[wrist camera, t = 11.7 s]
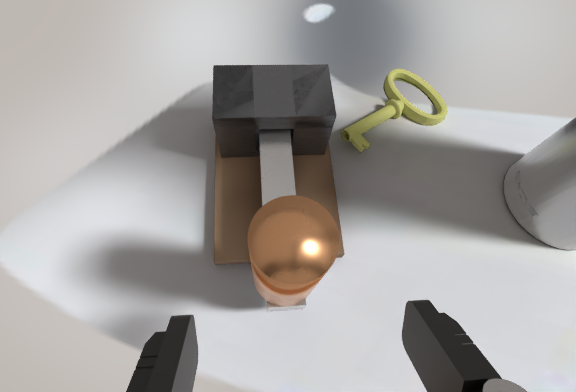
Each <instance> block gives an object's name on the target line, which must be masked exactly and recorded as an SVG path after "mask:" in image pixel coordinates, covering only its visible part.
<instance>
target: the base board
mask: <svg viewBox="0 0 576 392" xmlns="http://www.w3.org/2000/svg"><path fill="white" fill-rule="evenodd" d="M292 157H293V168H294V179H295V190H296V196H303V197H307V198H309V199H312V200H314V201H316V202H318V203H319V204H320V205H322V206H323V207H324V208H325V209H326V210H327V211H328V212H329V213H330V214H331V216H332V217H333V219H334V221H335V223H336V225H337V228H338V232H339V240H340V242H339V250H338V254H337V257H336V258H338V257H342V256H343V255H344V249H343V242H342V235H341V228H340V221H339V214H338V207H337V200H336V193H335V186H334V179H333V172H332V165H331V158H330V151H329V144H328V145H327V148H326V151H325V154H324V155H297V156H292ZM261 207H262V191H261V169H260V157H233V158H221V154H220V150H219V145H218V141H217V136H216V157H215V219H214V263H215V264H216V265H217V264H234V263H251V261H250V255H249V248H248V240H247V239H248V230H249V226H250V223H251V221H252V219H253V217H254V215H255V214H256V212H257V211H258V210H259V209H260V208H261Z"/></svg>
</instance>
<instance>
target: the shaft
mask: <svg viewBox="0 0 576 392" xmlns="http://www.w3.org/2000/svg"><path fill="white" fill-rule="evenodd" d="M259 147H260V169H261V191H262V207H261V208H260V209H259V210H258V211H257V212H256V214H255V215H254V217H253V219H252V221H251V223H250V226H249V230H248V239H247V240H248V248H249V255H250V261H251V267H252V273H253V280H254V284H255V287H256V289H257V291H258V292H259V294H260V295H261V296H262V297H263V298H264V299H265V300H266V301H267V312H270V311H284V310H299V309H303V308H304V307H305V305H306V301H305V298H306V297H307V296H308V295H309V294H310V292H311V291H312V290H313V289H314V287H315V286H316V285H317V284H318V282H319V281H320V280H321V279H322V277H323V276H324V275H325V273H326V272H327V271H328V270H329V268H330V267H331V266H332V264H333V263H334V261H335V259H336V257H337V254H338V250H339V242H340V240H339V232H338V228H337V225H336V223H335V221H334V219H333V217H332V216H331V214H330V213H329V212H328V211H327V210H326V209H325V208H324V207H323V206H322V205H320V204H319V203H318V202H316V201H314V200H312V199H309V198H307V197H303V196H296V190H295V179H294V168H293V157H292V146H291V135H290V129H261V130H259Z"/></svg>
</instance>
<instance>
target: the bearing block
mask: <svg viewBox="0 0 576 392" xmlns="http://www.w3.org/2000/svg"><path fill="white" fill-rule="evenodd" d="M335 118H336V111H335V104H334V98H333V92H332V86H331V80H330V73H329V67H328V65H224V66H223V65H219V66H218V65H216V66H214V68H213V114H212V119H213V123H214V128H215V132H216V136H217V141H218V145H219V150H220V154H221V158H233V157H260V147H259V130H261V129H290V135H291V146H292V156H297V155H324V154H325V151H326V148H327V145H328V141H329V138H330V135H331V131H332V128H333V125H334V122H335Z"/></svg>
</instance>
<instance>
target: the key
mask: <svg viewBox="0 0 576 392" xmlns="http://www.w3.org/2000/svg"><path fill="white" fill-rule="evenodd" d="M393 81H403V82H406V83H408V84H411V85H413V86H414V87H416V88H417V89H419V90H420V91H421V92H423V93H424V94H425V95H426V96H427V97H428V99H429V100H430V101H431V103H432V104H433V105H435V107H436V110H437V115H430V114H427V113H425V112H423V111H421V110H419V109H418V108H416V107H415V106H413V105H412V104H411V103H410V102H409V101H407V100H406V99H405V98H404V97H403V96H402V95H401V94H400V92H399V91H398V90H397V88H396V87H395V85H394V82H393ZM383 89H384V92H385V94H386V96H387V98H388V101H387V102H386V104H385V107H384V108H382V109H380V110H378V111H376V112H374V113H373V114H371V115H369V116H367V117H365V118H363V119H362V120H360V121H358V122H356V123H354V124H353V125H351V126H349V127H347V128H345V129H343V130H342V131H341V135H342V138H343V139H344V140H345V141H346V142H349V141H350V142H351V143H352V144H353V145H354V146H355V147H356V148H357V149H358V150H359V151H360V152H362V151H363V150H364V148H365V149H367V148H369V147H370V145H371V144H370V143H369V142H368V141H367V140H366V139H365V138H364V137H363V136H362V135H361V134H363V133H365V132H366V131H368V130H370V129H372V128H373V127H375V126H377V125H379V124H380V123H382V122H384V121H386V120H387V119H389V118H391V117H392V118H394V119H396V118H399V117H400V116H401V114H402V113H403V114H404V115H405V116H407V117H408V118H409V119H411V120H413V121H414V122H417V123H419V124H422V125H427V126H432V125H436V124H438V123H440V122H441V121H442V120H444V118H445V116H446V114H447V106H446V104H445V102H444V100H443V98H442V97H441V96H440V95H439V93H438V92H437V91H436V90H435V89H434V88H433V87H431V86H430V85H429V84H428V83H427V82H426V81H424V80H423V79H422V78H420V77H419V76H417V75H415V74H414V73H411V72H409V71H407V70H403V69H395V70H393V71H391V72H390V73H389V74H388V76H387V77H386V78H385V82H384V87H383Z"/></svg>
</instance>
